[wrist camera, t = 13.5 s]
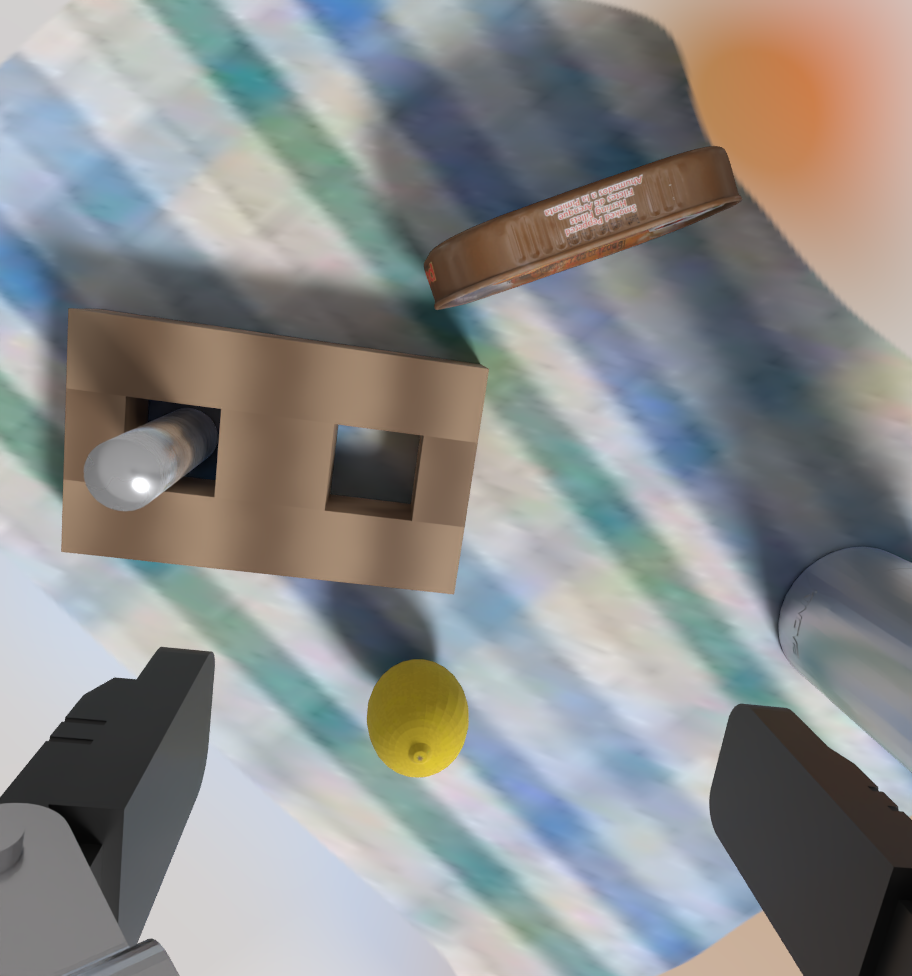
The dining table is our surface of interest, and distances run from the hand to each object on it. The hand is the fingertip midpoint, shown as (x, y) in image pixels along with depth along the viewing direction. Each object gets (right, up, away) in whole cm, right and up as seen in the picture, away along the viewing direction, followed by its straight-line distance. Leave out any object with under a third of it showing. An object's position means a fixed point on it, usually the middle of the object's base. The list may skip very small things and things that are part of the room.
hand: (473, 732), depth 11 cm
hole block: (-10, +6, +29) cm, 31 cm away
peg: (-15, +7, +28) cm, 33 cm away
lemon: (-3, -8, +33) cm, 34 cm away
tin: (+5, +17, +28) cm, 33 cm away
